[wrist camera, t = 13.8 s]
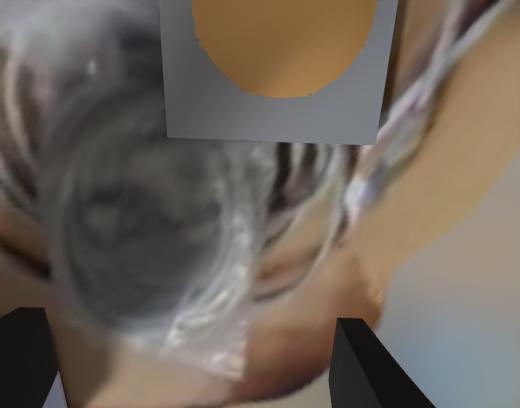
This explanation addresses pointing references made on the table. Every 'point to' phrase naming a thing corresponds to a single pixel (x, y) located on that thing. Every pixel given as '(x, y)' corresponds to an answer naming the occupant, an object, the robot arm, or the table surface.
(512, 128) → the table surface
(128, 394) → the table surface
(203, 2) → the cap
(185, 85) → the stud block
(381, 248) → the table surface
